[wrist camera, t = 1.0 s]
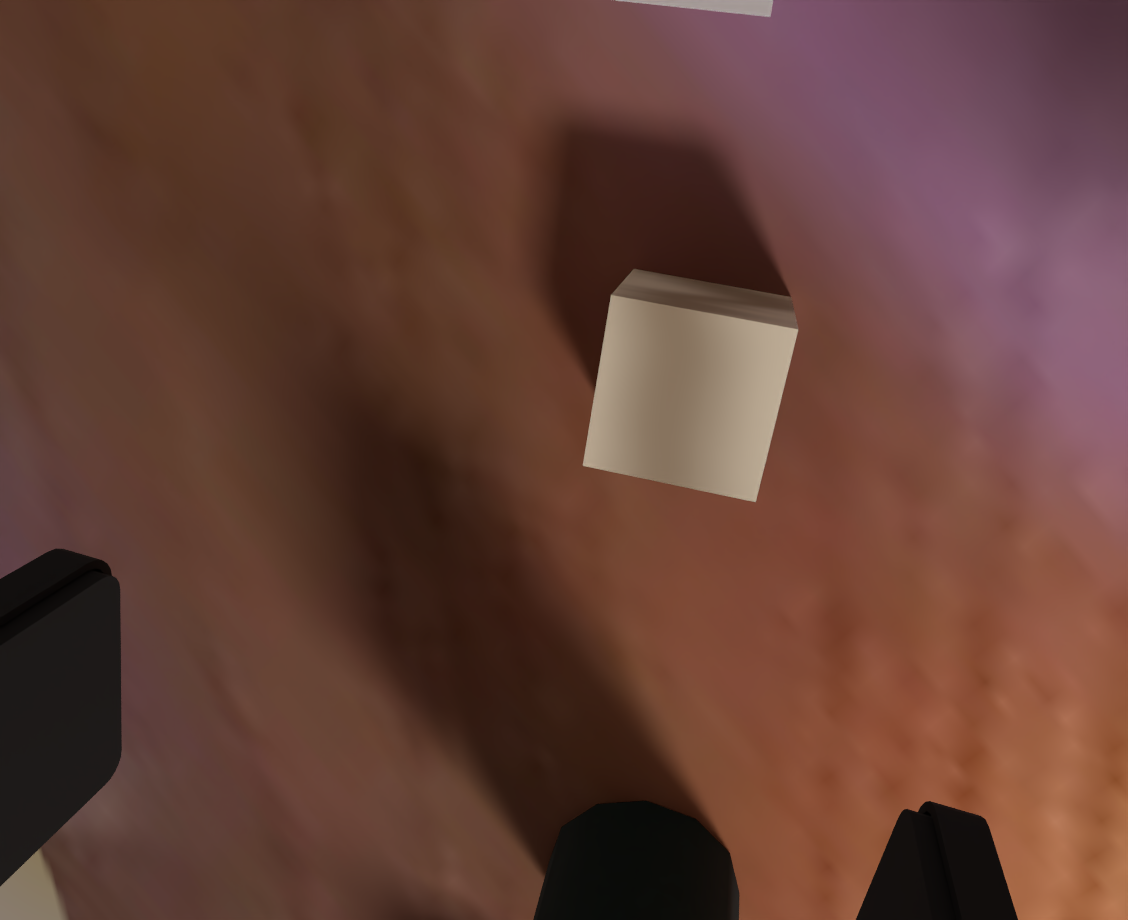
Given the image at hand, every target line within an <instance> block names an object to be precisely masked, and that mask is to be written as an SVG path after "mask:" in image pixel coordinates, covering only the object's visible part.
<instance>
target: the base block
mask: <svg viewBox="0 0 1128 920" xmlns="http://www.w3.org/2000/svg"><path fill="white" fill-rule="evenodd" d="M617 1H626V2H636V3H645V4H654V5H664V6H673V7H682V8H691V9H701V10H710V11H719V12H729V13H738V14H747V15H756V16H766V17H770V16H771V10H772V5H773V0H617Z"/></svg>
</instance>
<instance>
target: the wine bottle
mask: <svg viewBox="0 0 1128 920" xmlns="http://www.w3.org/2000/svg"><path fill="white" fill-rule="evenodd" d="M533 920H739V890H738V886H737V881H736V877H735V873H734V869H733V865H732V860H731V856H730V853H729V852H728V851H727V850H726V849H725V848H724V847H723V846H722V845H721V844H720V843H719V842H718V841H717V840H716V839H715V838H714V837H713V836H712V835H711V834H710V833H709V832H708V831H707V830H706V829H705V828H704V827H703V826H702V825H701V824H700V823H699V822H698V821H697V820H696V819H694V818H692V817H689V816H686V815H683V814H681V813H678V812H675V811H673V810H670V809H667V808H664V807H662V806H659V805H656V804H654V803H651V802H648V801H637V802H622V803H607V804H597V805H595V806H594V807H592V808H590V809H589V810H587V811H586V812H584V813H583V814H581V815H580V816H578V817H577V818H575V819H573V820H572V821H570V822H569V823H567V824H566V825H564V826H563V827H562V828H561V830H560V833H559V836H558V839H557V842H556V844H555V847H554V850H553V853H552V855H551V858H550V861H549V864H548V868H547V871H546V875H545V879H544V882H543V886H542V890H541V893H540V897H539V901H538V905H537V908H536V912H535V916H534V919H533Z"/></svg>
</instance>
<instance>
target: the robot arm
mask: <svg viewBox="0 0 1128 920" xmlns="http://www.w3.org/2000/svg"><path fill="white" fill-rule="evenodd" d="M121 750H122V747H121V633H120V585H119V582H118V580H117V578H115V577H113V576H112V574H111V569H110V567H109V566H108V564H107V563H106V562H104V561H102V560H99V559H96V558H93V557H89V556H86V555H82V554H79V553H75V552H72V551H69V550H65V549H54V550H51V551H49V552H47V553H45V554H43V555H41V556H40V557H38V558H36V559H34V560H33V561H31V562H29V563H27V564H26V565H24V566H22V567H20V568H19V569H17V570H15V571H13V572H12V573H10V574H8V575H6V576H5V577H3V578H1V579H0V886H1V885H2V884H3V883H4V882H5V881H6V880H7V879H8V878H9V877H10V876H11V875H13V874H14V873H15V871H17V870H18V869H19V868H20V867H21V866H22V865H23V864H24V863H25V862H26V861H27V860H28V859H29V858H30V857H31V856H32V855H33V854H34V853H35V852H36V851H37V850H38V849H39V848H40V847H41V846H42V845H43V844H44V843H46V842H47V841H48V840H49V839H50V838H51V837H52V836H53V835H54V834H55V833H56V832H57V831H58V830H59V829H60V828H61V827H62V826H63V825H64V824H65V823H66V822H67V821H68V820H69V819H70V818H71V817H72V816H73V815H74V814H75V813H76V812H77V811H78V810H80V809H81V808H82V807H83V806H84V805H85V804H86V803H87V802H88V801H89V800H90V799H91V798H92V797H93V796H94V795H95V794H96V793H97V792H98V791H99V790H100V789H101V788H102V787H103V786H104V785H105V784H106V783H107V782H108V781H109V780H110V779H111V777H112V775H113V774H114V772H115V770H116V768H117V766H118V764H119V761H120V757H121ZM856 920H1018V918H1017V915H1016V912H1015V909H1014V906H1013V902H1012V899H1011V896H1010V893H1009V890H1008V886H1007V883H1006V880H1005V877H1004V874H1003V870H1002V867H1001V864H1000V861H999V858H998V854H997V851H996V848H995V845H994V842H993V838H992V835H991V832H990V829H989V826H988V824H987V822H986V820H985V819H984V818H983V817H981V816H979V815H975V814H972V813H969V812H965V811H962V810H958V809H955V808H951V807H948V806H944V805H941V804H938V803H934V802H931V801H928V802H925V803H924V804H923V805H922V806H921V807H920V809H919V811H918V812H915V811H912V810H908V809H905V810H903V811H902V812H901V814H900V816H899V818H898V820H897V822H896V825H895V827H894V829H893V832H892V834H891V837H890V839H889V841H888V844H887V846H886V849H885V851H884V853H883V856H882V858H881V861H880V863H879V865H878V868H877V870H876V873H875V875H874V877H873V880H872V882H871V885H870V887H869V889H868V892H867V894H866V897H865V899H864V901H863V904H862V906H861V909H860V911H859V913H858V916H857V918H856Z"/></svg>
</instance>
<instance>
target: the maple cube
mask: <svg viewBox="0 0 1128 920" xmlns="http://www.w3.org/2000/svg"><path fill="white" fill-rule="evenodd" d="M797 333H798V326H797V321H796V316H795V312H794V307H793V303H792V298H791V297H788V296H783V295H777V294H772V293H766V292H760V291H755V290H749V289H744V288H738V287H733V286H727V285H722V284H716V283H710V282H705V281H699V280H694V279H688V278H683V277H677V276H671V275H666V274H660V273H655V272H649V271H644V270H638V269H633V270H632V271H631V273H630V274H629V275H628V276H627V277H626V278H625V279H624V281H623V282H622V283H621V284H620V285H619V286H618V288H617V289H616V290H615V291H614V292H613V293H612V294H611V298H610V304H609V310H608V316H607V322H606V328H605V334H604V341H603V347H602V353H601V359H600V365H599V371H598V377H597V383H596V389H595V395H594V401H593V407H592V413H591V419H590V425H589V432H588V438H587V444H586V450H585V456H584V462H583V466H587V467H592V468H596V469H601V470H606V471H610V472H615V473H620V474H625V475H629V476H634V477H639V478H644V479H648V480H653V481H658V482H663V483H667V484H672V485H677V486H682V487H686V488H691V489H696V490H701V491H705V492H710V493H715V494H720V495H724V496H729V497H734V498H738V499H743V500H748V501H753V502H756V499H757V495H758V491H759V487H760V483H761V478H762V474H763V470H764V466H765V462H766V458H767V454H768V450H769V446H770V442H771V438H772V434H773V430H774V426H775V422H776V418H777V414H778V410H779V406H780V402H781V398H782V394H783V390H784V385H785V381H786V377H787V373H788V369H789V365H790V361H791V357H792V353H793V349H794V345H795V341H796V337H797Z"/></svg>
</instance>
